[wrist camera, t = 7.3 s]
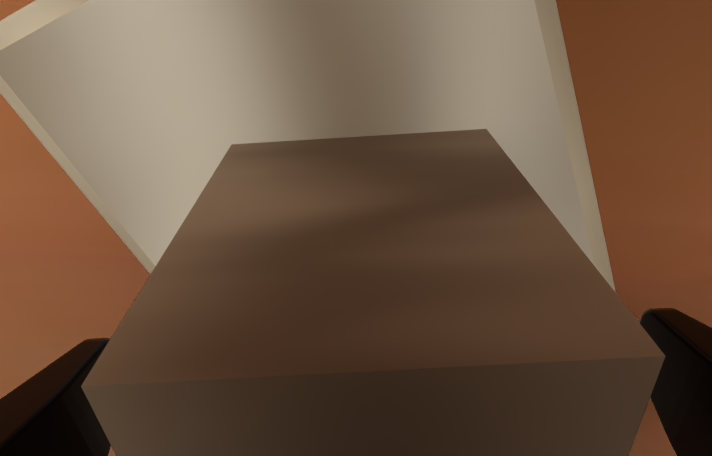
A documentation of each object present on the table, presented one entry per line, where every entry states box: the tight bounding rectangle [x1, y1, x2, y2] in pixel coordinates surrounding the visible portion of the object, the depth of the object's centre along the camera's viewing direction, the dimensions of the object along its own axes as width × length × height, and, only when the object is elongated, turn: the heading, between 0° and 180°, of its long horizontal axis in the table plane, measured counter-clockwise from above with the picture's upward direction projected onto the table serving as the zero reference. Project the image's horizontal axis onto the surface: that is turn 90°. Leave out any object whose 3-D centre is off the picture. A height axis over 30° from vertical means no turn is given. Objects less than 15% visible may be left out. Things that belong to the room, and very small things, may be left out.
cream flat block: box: [0, 0, 616, 293], centre depth 12 cm, size 10×14×4 cm
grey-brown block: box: [81, 129, 665, 456], centre depth 8 cm, size 5×5×6 cm
